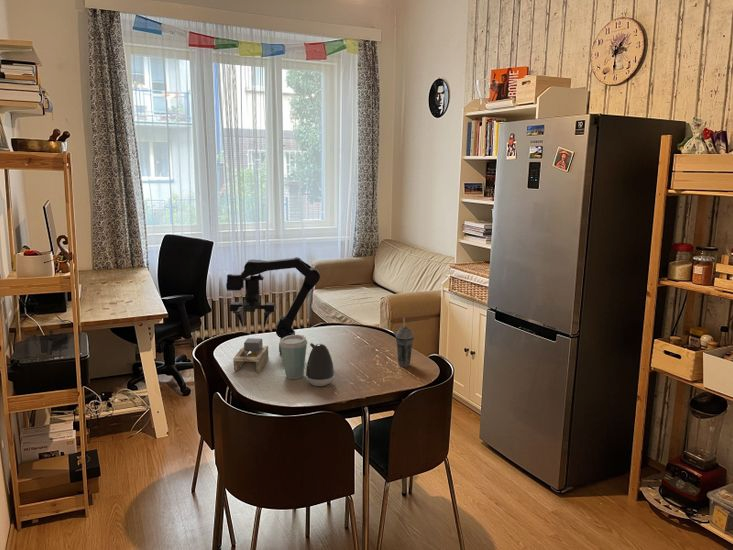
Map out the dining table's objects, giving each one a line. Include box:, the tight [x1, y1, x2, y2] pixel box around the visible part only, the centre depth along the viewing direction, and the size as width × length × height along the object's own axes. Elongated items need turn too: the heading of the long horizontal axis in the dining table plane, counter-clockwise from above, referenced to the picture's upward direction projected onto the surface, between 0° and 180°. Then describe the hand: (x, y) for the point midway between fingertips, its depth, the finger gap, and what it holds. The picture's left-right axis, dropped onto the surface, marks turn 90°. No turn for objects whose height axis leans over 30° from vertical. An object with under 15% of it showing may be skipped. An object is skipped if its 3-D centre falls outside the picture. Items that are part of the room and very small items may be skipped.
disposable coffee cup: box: [278, 334, 308, 380], centre depth 218 cm, size 11×11×15 cm
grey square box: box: [243, 337, 264, 357], centre depth 233 cm, size 6×6×7 cm
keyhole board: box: [232, 345, 269, 373], centre depth 230 cm, size 10×16×6 cm, turn 177°
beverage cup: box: [395, 317, 414, 368], centre depth 230 cm, size 7×7×20 cm
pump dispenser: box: [305, 342, 335, 387], centre depth 210 cm, size 10×10×15 cm
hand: (253, 326), depth 241 cm, fingers open, 9 cm apart
